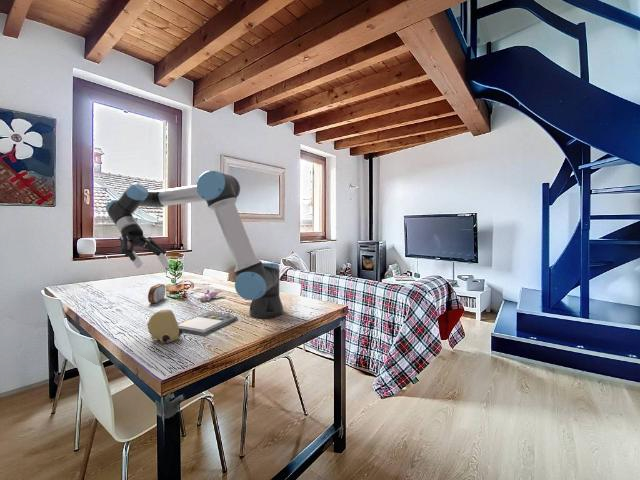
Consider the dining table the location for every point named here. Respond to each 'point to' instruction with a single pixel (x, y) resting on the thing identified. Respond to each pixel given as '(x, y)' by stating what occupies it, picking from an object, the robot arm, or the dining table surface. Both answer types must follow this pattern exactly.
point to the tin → (156, 293)
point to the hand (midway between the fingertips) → (154, 266)
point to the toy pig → (164, 326)
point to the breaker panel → (206, 322)
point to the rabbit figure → (209, 295)
